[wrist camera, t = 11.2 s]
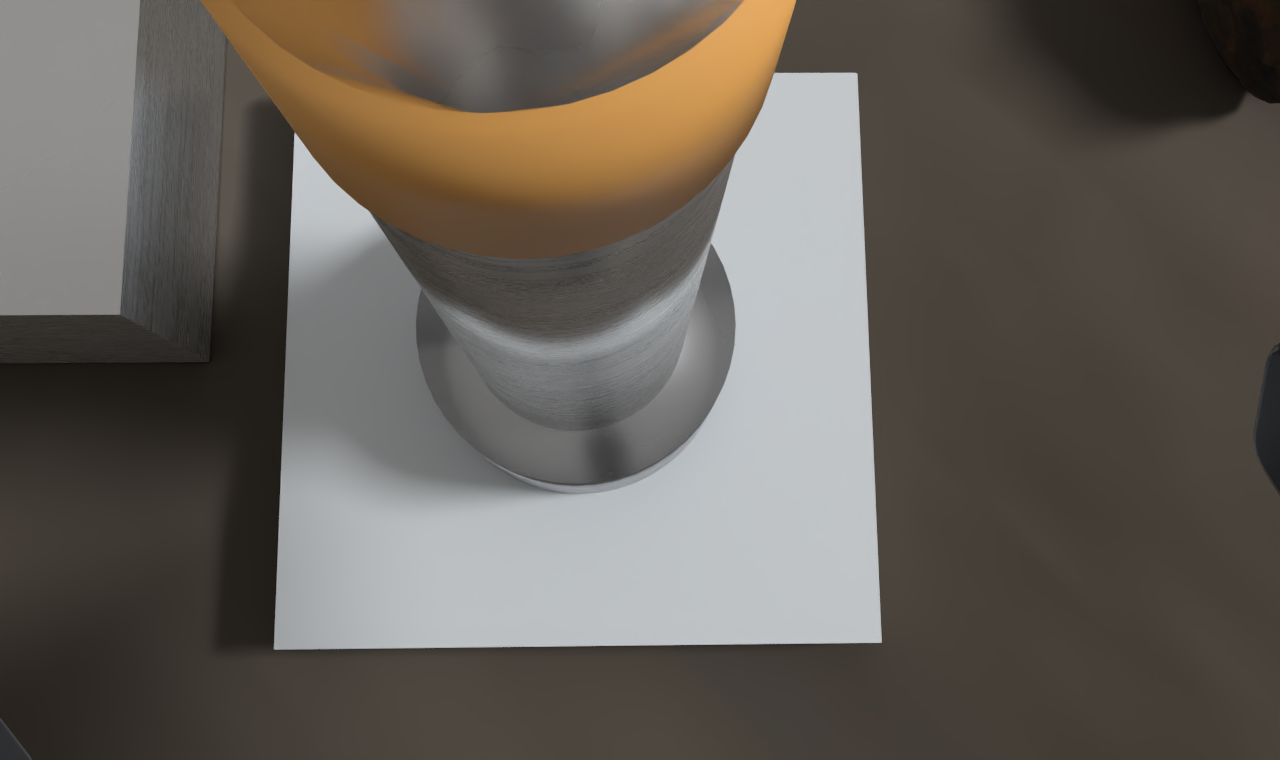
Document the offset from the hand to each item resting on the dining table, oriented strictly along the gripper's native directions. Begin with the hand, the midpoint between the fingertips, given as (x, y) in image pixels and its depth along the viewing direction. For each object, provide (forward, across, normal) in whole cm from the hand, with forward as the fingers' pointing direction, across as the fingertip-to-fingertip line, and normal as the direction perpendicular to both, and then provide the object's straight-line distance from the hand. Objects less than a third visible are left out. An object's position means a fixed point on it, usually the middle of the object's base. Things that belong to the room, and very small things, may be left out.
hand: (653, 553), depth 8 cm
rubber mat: (+10, 0, +5) cm, 11 cm away
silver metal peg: (+9, 0, +4) cm, 10 cm away
